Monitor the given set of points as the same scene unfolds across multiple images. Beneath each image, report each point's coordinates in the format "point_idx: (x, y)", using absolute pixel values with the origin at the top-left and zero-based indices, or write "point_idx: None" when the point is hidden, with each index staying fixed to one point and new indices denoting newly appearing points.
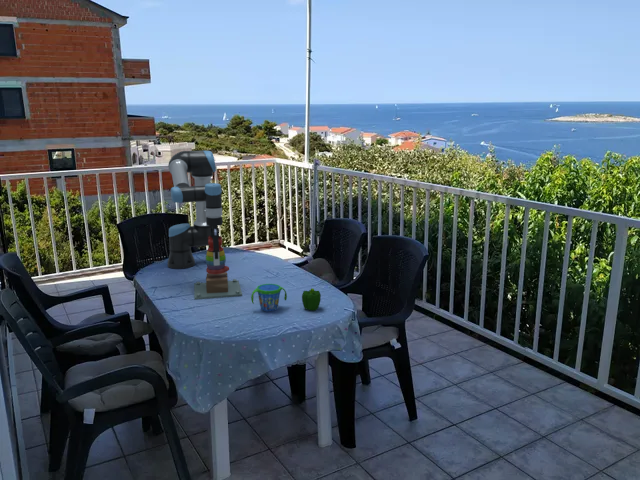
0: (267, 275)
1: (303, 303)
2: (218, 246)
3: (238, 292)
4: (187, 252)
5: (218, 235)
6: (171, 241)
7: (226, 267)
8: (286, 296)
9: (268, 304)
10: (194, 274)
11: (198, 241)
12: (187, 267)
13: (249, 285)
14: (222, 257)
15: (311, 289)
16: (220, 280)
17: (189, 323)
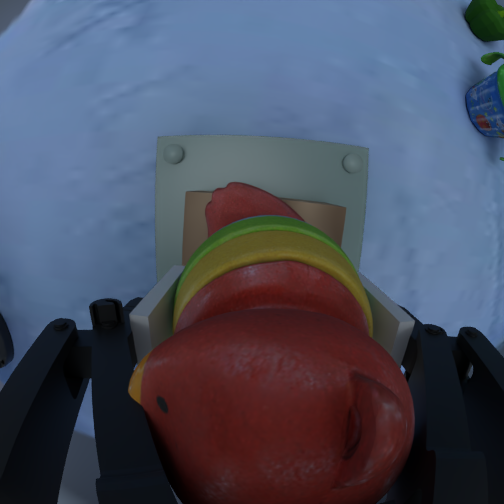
0: (115, 30)
1: (494, 40)
2: (499, 359)
3: (360, 161)
4: None
5: (478, 486)
6: None
7: (270, 205)
8: (496, 59)
9: None
10: (47, 309)
11: None
12: (2, 319)
13: (224, 93)
14: (349, 260)
15: None
16: (340, 247)
17: (486, 330)
